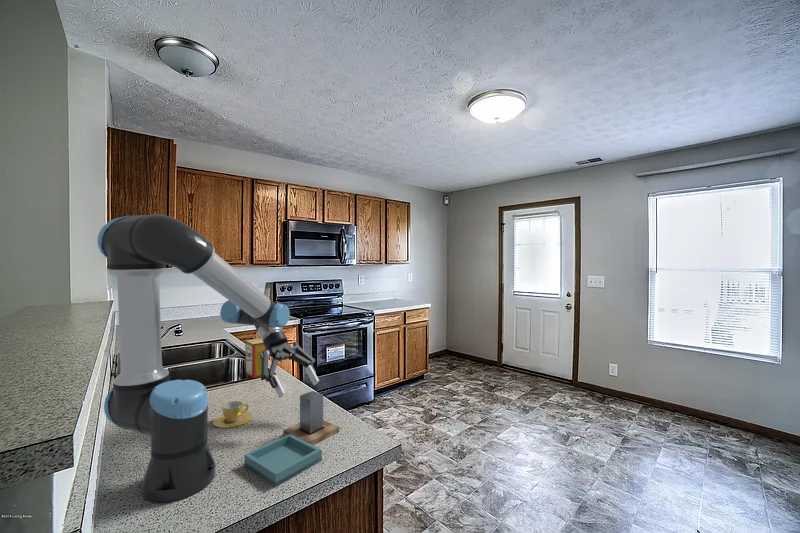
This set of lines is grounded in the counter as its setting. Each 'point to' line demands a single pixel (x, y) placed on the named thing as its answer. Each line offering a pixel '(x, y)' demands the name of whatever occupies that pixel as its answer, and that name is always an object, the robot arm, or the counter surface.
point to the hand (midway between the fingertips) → (300, 389)
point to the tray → (282, 459)
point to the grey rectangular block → (311, 412)
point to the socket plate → (314, 438)
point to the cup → (233, 414)
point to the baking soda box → (253, 357)
